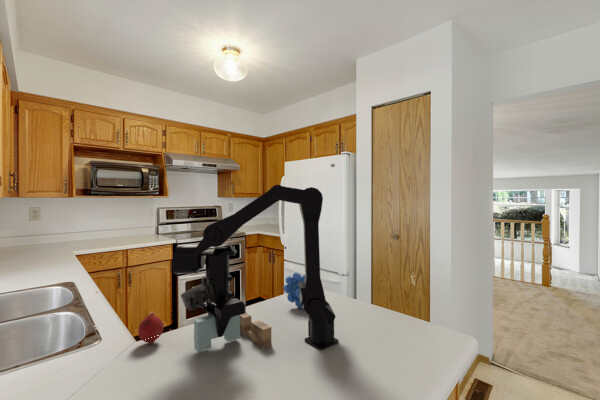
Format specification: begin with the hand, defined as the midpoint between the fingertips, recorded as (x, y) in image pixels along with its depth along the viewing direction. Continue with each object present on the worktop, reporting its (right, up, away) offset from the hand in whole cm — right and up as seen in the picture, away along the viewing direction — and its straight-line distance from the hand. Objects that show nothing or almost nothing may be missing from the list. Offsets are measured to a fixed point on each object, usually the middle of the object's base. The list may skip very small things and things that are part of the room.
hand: (217, 334), depth 73 cm
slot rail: (+7, -3, +6) cm, 10 cm away
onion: (-18, -3, +2) cm, 18 cm away
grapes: (+21, -3, +26) cm, 33 cm away
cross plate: (0, -2, 0) cm, 2 cm away
